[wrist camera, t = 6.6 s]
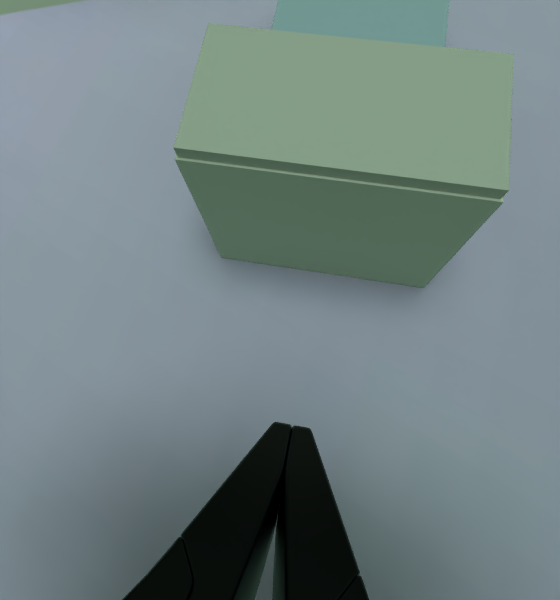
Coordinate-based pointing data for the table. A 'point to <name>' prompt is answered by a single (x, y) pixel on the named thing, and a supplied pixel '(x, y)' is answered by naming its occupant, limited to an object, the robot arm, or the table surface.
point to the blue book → (367, 19)
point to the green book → (345, 150)
